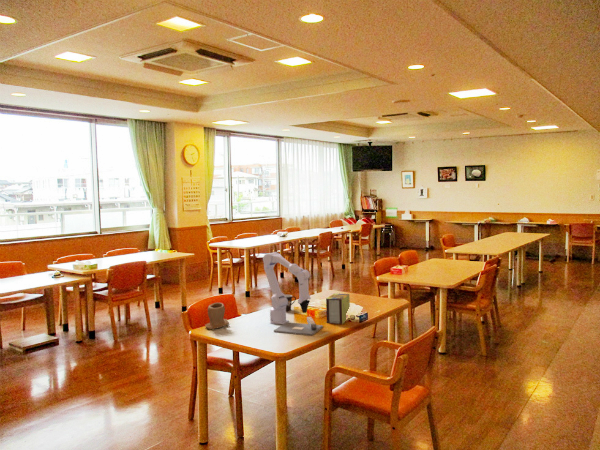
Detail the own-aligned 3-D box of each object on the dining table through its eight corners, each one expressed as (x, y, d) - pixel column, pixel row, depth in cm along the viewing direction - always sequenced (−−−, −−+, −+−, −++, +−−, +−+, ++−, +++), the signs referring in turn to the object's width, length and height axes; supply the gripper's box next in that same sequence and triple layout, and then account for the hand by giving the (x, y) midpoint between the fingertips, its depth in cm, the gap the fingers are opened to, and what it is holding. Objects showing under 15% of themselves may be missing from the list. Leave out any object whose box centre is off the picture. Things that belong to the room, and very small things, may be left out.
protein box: (350, 318, 320) (349, 294, 318) (342, 324, 306) (341, 299, 304) (334, 316, 324) (334, 293, 323) (326, 323, 310) (325, 298, 309)
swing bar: (316, 329, 291) (316, 324, 291) (311, 330, 291) (311, 325, 290) (311, 321, 309) (311, 316, 309) (306, 321, 309) (306, 316, 309)
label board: (273, 332, 294) (273, 330, 294) (286, 323, 310) (286, 322, 310) (312, 335, 284) (311, 333, 284) (322, 327, 301) (322, 325, 301)
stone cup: (212, 331, 298) (211, 307, 297) (202, 327, 307) (201, 303, 306) (234, 326, 307) (233, 302, 306) (224, 323, 317) (223, 299, 315)
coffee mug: (280, 312, 340) (280, 297, 339) (279, 309, 348) (278, 294, 347) (297, 311, 341) (297, 296, 340) (296, 308, 350) (295, 293, 349)
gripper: (305, 293, 294) (306, 316, 295) (314, 288, 307) (315, 310, 308) (294, 292, 297) (295, 315, 298) (303, 287, 310) (304, 309, 311)
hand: (304, 312), depth 303 cm, fingers closed
